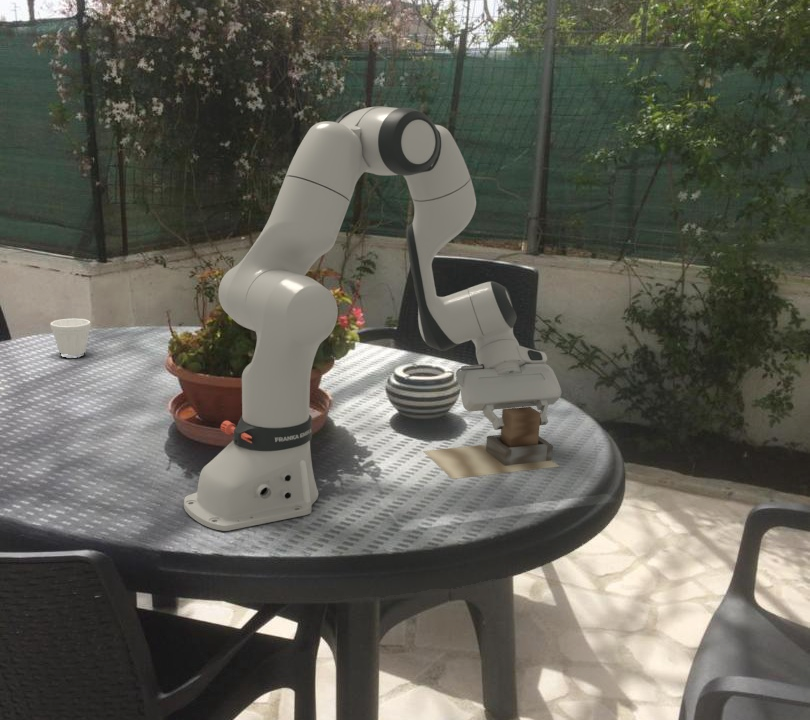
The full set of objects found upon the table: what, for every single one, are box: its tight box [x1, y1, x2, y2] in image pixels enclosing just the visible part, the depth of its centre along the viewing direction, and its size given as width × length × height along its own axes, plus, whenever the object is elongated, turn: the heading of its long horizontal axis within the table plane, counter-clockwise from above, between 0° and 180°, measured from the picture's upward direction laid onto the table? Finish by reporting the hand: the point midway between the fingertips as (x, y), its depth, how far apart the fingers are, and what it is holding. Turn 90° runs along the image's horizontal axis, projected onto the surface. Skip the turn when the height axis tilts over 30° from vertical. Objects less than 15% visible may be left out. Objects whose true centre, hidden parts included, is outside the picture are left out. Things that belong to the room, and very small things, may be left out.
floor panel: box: [422, 434, 560, 480], centre depth 158 cm, size 22×14×4 cm, turn 110°
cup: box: [50, 318, 91, 355], centre depth 222 cm, size 10×10×9 cm
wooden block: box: [500, 406, 541, 448], centre depth 159 cm, size 6×4×9 cm, turn 110°
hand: (521, 426), depth 159 cm, fingers open, 8 cm apart
